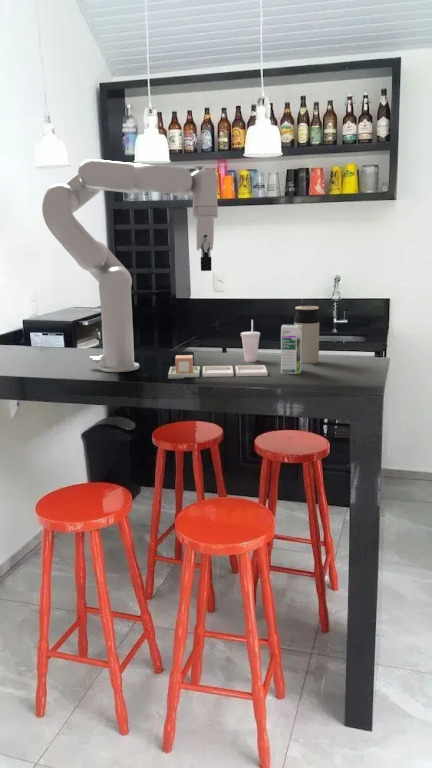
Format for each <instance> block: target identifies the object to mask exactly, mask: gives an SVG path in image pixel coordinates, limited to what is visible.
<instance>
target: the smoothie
mask: <svg viewBox="0 0 432 768" xmlns="http://www.w3.org/2000/svg"><path fill="white" fill-rule="evenodd" d="M250 323H251V329H250V331H243V332H240V337H241V340H242V341H241V342H242V351H243V356H244V358H243V359H244V362H247V363H254V362H257V359H258V350H259V344H260V343H259V342H260V337H261V332H259V331H254V319H251V321H250Z"/></svg>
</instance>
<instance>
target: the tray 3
mask: <svg viewBox="0 0 432 768" xmlns="http://www.w3.org/2000/svg"><path fill="white" fill-rule="evenodd" d="M234 369H235V374H236V377H268V375H269V373H268V370H267V367H266V365H265V364H258V365H257V364H255V365H254V364H250V365H249V364H248V365H235V368H234Z"/></svg>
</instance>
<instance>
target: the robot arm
mask: <svg viewBox="0 0 432 768" xmlns="http://www.w3.org/2000/svg"><path fill="white" fill-rule="evenodd" d="M102 191H109V192H110V191H111V192H119V193H125V194H126V193H129V194H138V193H143V192H145V193H146V192H149V193H164V194H172V195H173V196H175V197H186V196H192V218H193V219H196V222H195V223H196V225H195V229H196V230H195V233H196V234H195V235H196V237H195V238H196V250H197V252H198V251H201V253H200V254H201V256H200V271H201V272H207V271H208V272H210V271H212V256H211V251H212V250H213V249H214V237H215V223H214V220H215V218H216V219H218V213H219V212H218V174H217V172H216V171H215V170H212V169H198V170H196V171H193V172H192V171H191V172H190V171H189V170H187V169H186V168H183V167H180V166H169V165H158V164H144V163H137V162H136V163H135V162H134V163H133V162H123V161H116V160H115V161H114V160H113V161H112V160H104V159H93V158H92V159H91V158H90V159H85V160H84V161H82V162H81V163H80V164H79V166H78V170H77V173H76V174H75V175H74V176H73V177H71V178H70V179H69V180H68V181H66V182H65V183H59V182H58V183H54V184H53V185H51V186H50V187H49V188H48V189H47V190H46V192H45V194H44V197H43V200H42V204H41V205H42V207H41V210H42V217H43V220H44V223H45V225H46V227H47V229H48V230H49V232H50V233H51V234H52V236H54V238H55V239H56V240H57V241H58V242H59V244H60V245H61V246H62V247H63V248H64V249H65V251H66V252H68V254H69V255H70V256H71V258H73V260H74V261H75V262H76V263H77V265H78V266H79V267H80V268H81V269H83V270H84V271H85V272H89V274H90V275H91V276H92V277H93V278H94V279H95V280H96V282H98V291H99V293H98V294H99V301H100V302H99V303H100V317H101V318H100V319H101V332H102V333H101V335H102V350H103V351H102V352H103V354H102V355H99V356H89V363H93V364H100V365H98V369H99V371H101V372H107V373H124V372H127V373H128V372H131V371H136V370H139V369H140V364H139V362H135V350H134V328H133V327H134V324H133V306H132V305H133V304H132V303H133V302H132V284H133V278H132V275H131V273H130V272H129V270H128V269H127V268H126V267H125V266H124V264H122V263H121V261H120V260H119V259H118V258H117V256H115V255H114V254H113V253H112V251H111V250H110V249H109V248H108V247H107V246H106V245H105V244H104V243H103V242H101V241H99V240H97V239H95V238H94V237H93V236H92V235H91V234H90V232H88V231H87V229H85V227H84V226H83V225H82V223H81V222H80V221H79V220H78V219H77V218H76V217H75V215H74V213H75V212H77V211H78V210H79V209H80V208H82V207H84V206H85V205H86V204H87V203H88V202H89V201H91V200H92V199H93V198H94V197H96V196H97V195H98V194H99V193H100V192H102ZM200 249H201V250H200Z"/></svg>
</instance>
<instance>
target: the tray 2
mask: <svg viewBox="0 0 432 768" xmlns="http://www.w3.org/2000/svg"><path fill="white" fill-rule="evenodd" d="M234 374H235V373H234V369H233V365H203V366H202V378H211V377H212V378H213V377H220V378H221V377H234Z"/></svg>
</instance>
